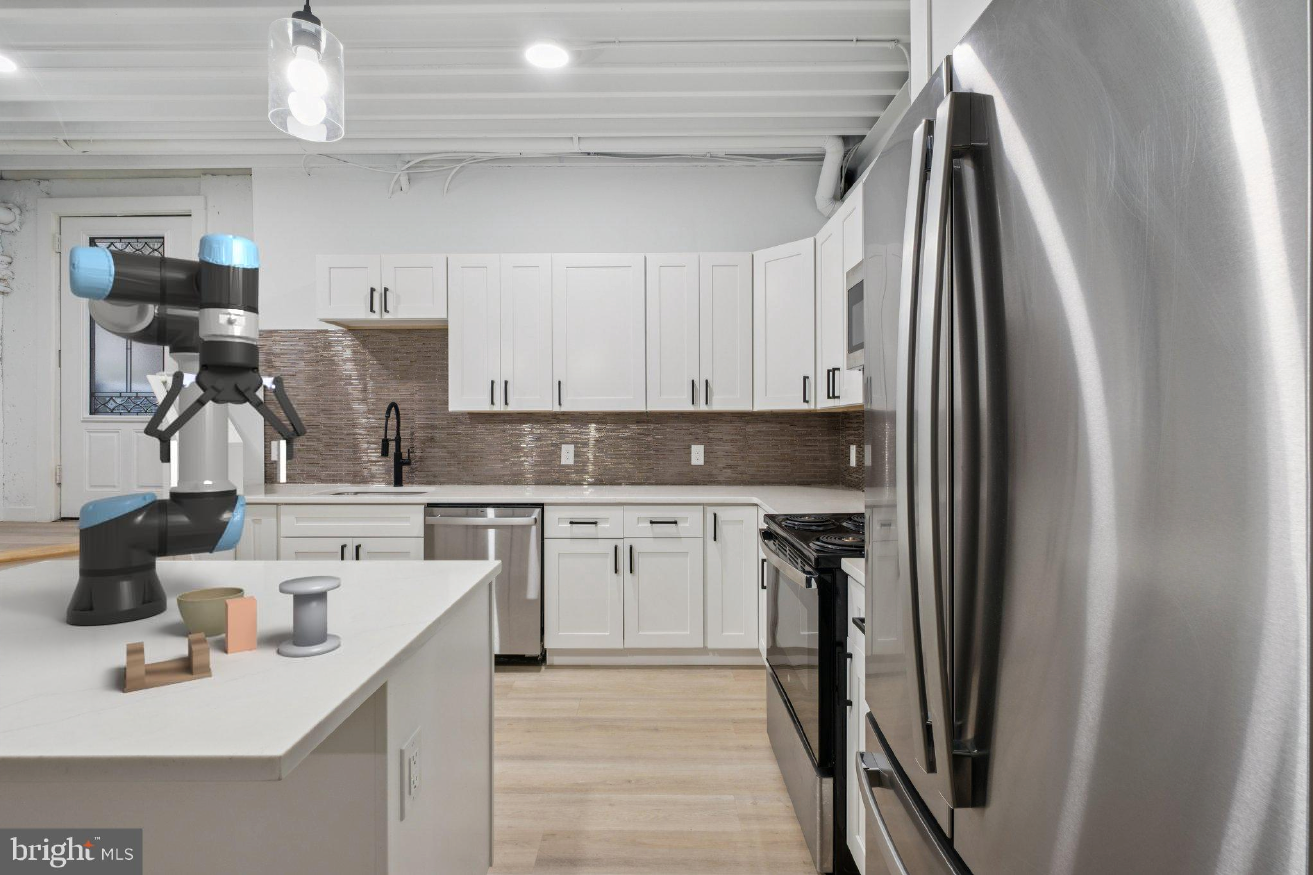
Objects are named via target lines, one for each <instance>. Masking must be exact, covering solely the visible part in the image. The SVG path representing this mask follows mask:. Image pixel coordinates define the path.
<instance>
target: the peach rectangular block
mask: <svg viewBox="0 0 1313 875" xmlns="http://www.w3.org/2000/svg"><path fill="white" fill-rule="evenodd" d="M257 603H258V601H257V598H255V597H254V595H252V596H245V597H242V598H234V599H227V600H225V633H224V635H225V636H224V640H225V641H224V648H225V651H226V652H227V655H231V654H232V655H233V654H236V653H241V652H243V653H244V652H247V651H254V650H258V649H257V648H258V646H257V645H258V639H257V638H258V635H257V634H258V629H257V628H258V627H257V626H258V625H257V624H258V615H257V614H258V611H257V610H258V608H257V607H258V604H257Z"/></svg>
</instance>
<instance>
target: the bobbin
mask: <svg viewBox="0 0 1313 875" xmlns="http://www.w3.org/2000/svg"><path fill="white" fill-rule="evenodd" d="M340 587H341V578H340V577H339V576H334V575H333V576H332V575H314V576H313V575H312V576H305V577H304V576H303V577H298V578H292V579H288V580H284V581H282V582H280V583H279V584H278V592H279V593H280V594H285V595H292V607H293V608H292V628H293V629H292V630H293V631H292V638H289V639H287V640H284V641H282V642H280V643H279V645H278V654H279V655H281V656H283V657H286V658H287V657H288V658H306V657H314V656H320V655H324V654H327V653H330V652H333V651H335V650H337V649H339V648H340V647H341V637H340V636H339V635H338V634H332V633H328V592H329V591H334V590H336V589H338V588H340Z"/></svg>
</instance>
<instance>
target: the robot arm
mask: <svg viewBox="0 0 1313 875" xmlns="http://www.w3.org/2000/svg"><path fill="white" fill-rule="evenodd" d="M198 248H199V249H198V253H197V257H198V260H191V259H184V258H177V257H170V256H162V255H161V256H159V255H152V254H146V253H139V252H134V251H131V252H130V251H125V250H118V249H112V248H106V247H105V246H85V245H75V246H73V247H72V248H70V250H69V260H68V264H69V265H68V266H69V268H68V272H69V273H68V274H69V276H68V277H69V287H70V292H71V294H73V295H74V296H75V297H78V298H81V299H88V300H87V301H88V302H87V303H88V304H87V305H88V306H87V307H88V311H89V314H90V316H91V319H93V321H94V322H95V323H96V324H97V325H98V326H99V327H100V328H102V329H104V330H105V331H106V332H108V333H110V334H112V335H114V336H117V337H118V338H121V339H125V340H127V341H130V342H135V343H136V344H137V343H138V344H143V345H147V346H159V347H168V356H169V357H170V358H171V359H172V360H173V361H175V363H177V366H178V370H177V371H175V372H174V373H172V377H171V378H172V379H171V383H170V384H171V387H170V388H169V390H168V391H167V393H165V396H164V397H163V399H162V401H161V402H160V404H159V405H158V407H157V409H156V410H155V412H154V413H153V415H152V416H151V418H150V420H149V421H148V423H147V425H146V426H145V427H144V429H143V433H144V435H145V436H149V437H152V438H155V439H157V440H158V441H159V460H160V462H161V463H162V464H169V486H170V488H169V490H168V491H169V492H168V493H169V496H168V498H163V499H162V498H160V499H158V498H157V497H158V496H157V495H156V493H155V492H153V491H152V492H151V491H150V492H140V493H139V492H138V493H129V494H123V495H116V496H111V497H104V498H98V499H94V500H91V501H89V502H87V503H84V504H83V505H82V506H81V507H80V509H79V516H78V517H79V519H78V520H79V521H78V526H77V530H79V533H78V534H79V538H78V539H79V541H78V542H79V543H78V544H79V545H78V546H79V547H78V548H79V550H78V553H79V554H78V582H77V584H76V586H75V588H74V592H73V594H72V597H71V599H70V601H69V604H68V607H67V609H66V623H67V624H70V625H76V626H99V625H110V624H118V623H123V622H124V623H125V622H130V621H131V622H132V621H135V620H141V619H145V618H149V617H153V616H155V615H157V614H161V613H163V612H165V611H166V610H167V609H168V605H167V604H168V599H167V595H166V593H165V590H164V587H163V585H162V582H161V580H160V578H159V576H158V573H157V565H156V564H157V558H165V557H166V558H167V557H174V556H175V557H177V556H185V555H186V556H188V555H197V554H206V553H209V554H214V553H217V552H218V553H219V552H226V551H231V550H234V548H236V547H237V546H238V545H239V543H240V542H241V537H242V533H243V529H244V525H245V517H246V502H247V501H246V498H245V496H244V495H243V494H242V495H241V494H238V489H237V488H238V487H237V486H236V485H235V484H234V483H232V482H231V480H230V479H229V404H233V405H244V404H247V403H248V404H249V405H250V406H251V407H252V408H254V410H255V411H257V412H258V414H260V416H261V417H262V418H263V419H264V420H265V421H266V422H267V423H268V424H269V425H270V426H271V427H272V428H273V430H274V431H276V432H277V433H278V434H279V435H280V437H281V438H282V439H277V440H276V444H277V445H276V448H277V449H276V451H277V454H276V459H277V460H276V469H277V470H276V472H277V473H276V474H277V475H276V478H277V480H276V482H278V483H286V482H287V469H286V468H287V461H293V459H294V441H295V439H297V438H300V437H303V436H305V435H307V434H308V431H307V429H306V427H305V425H304V423H303V421H302V420H301V418H300V415H299V414H298V412H297V411H296V409H295V407H294V406H293V403H292V402H291V399H290V397H289V396H288V395H287V392H286V391H285V384H284V379H283V377H282V376H280V375H277V376H274V377H272V376H271V377H263V376H261V373H260V347H259V346H258V345H257V344H255V343H256V342H258V341H259V340H260V336H259V335H260V334H259V333H260V326H259V325H260V322H259V320H260V319H259V318H260V317H259V313H260V312H259V294H260V293H259V289H260V288H259V287H260V284H259V282H260V278H259V277H260V274H259V273H260V267H261V262H260V260H259V247H258V245H257V244H256V243H255V242H253V241H252V240H250V239H248V238H246V237H242V236H238V235H234V234H233V235H232V234H227V233H225V234H224V233H208V234H205V235H202V236H201V238H199V246H198ZM262 386H265V388H267V389H268V391H270V392H272V393H273V395H274V397H275V399H276V401H277V403H278V404H279V406H280V408H281V410H282V412H283V413H284V416H285V417H286V418H287V421H288V422H289V424H290V426H291V427H292V429H289V427H288V426H286V424H285V423H283V421H282V420H281V419H280V418H279V417H278V415H276V414H275V413H274V412H273V411H272V410H271V409H270V407H269V406H267V404H265V402H264V401H263V400H262V398H260V397H259V395H257V392H258V391H259V390H260V388H262ZM177 398H178V400H177ZM176 400H177V401H178V416H177V417H176V418H175V419H174V420H173V421H172V422H171V423H170V424H169V425H168V426H167V427H166V428H164V430H162V429H159V427H160V426H161V423H162V422H163V420H164V419H165V417H166V416H167V414H168V412H169V411H170V410H171V408H172V406H173V404H174V403H175V402H176ZM176 433H178V440H171V438H172V437H174V435H175V434H176Z"/></svg>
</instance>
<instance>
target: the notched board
mask: <svg viewBox="0 0 1313 875" xmlns="http://www.w3.org/2000/svg"><path fill="white" fill-rule="evenodd" d="M125 647H126V649H125V651H126V656H125V657H126V660H125V661H126V662H125V663H126V664H125V665H126V667H124V671H123V673H124V674H123V693H125V694H126V693H130V692H134V691H135V692H136V691H139V690H140V691H141V690H145V689H146V690H147V689H151V688H156V687H157V688H158V687H161V686H162V687H163V686H167V685H172V684H178V683H182V682H188V681H194V680H198V679H204V678H209V677H210V678H211V677H213V671H212V669H211V665H210V664H211V654H210V653H211V652H210V650H211V649H210V646H209V643H208V640H207V637H205V635H204V632H202V633H196V634H192V633H190V634H187V656H186V657H181V658H175V659H169V660H164V661H163V660H162V661H158V662H151V663H146V658H145V655H146V654H145V644H144V641H140V642H132V643H127V644H126V646H125Z"/></svg>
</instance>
